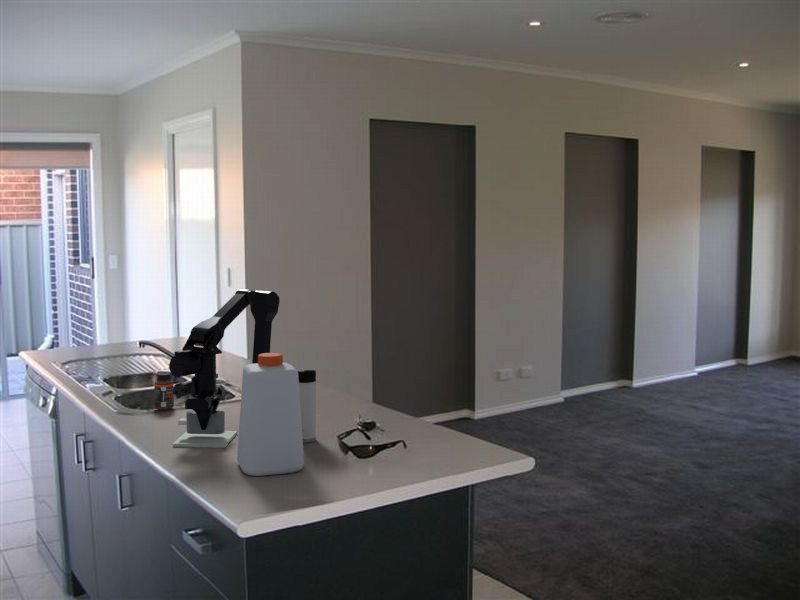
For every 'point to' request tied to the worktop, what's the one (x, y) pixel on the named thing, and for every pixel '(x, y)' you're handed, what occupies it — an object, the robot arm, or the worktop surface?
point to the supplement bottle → (163, 392)
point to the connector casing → (213, 427)
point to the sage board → (205, 440)
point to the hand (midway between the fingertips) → (205, 427)
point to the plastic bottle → (270, 418)
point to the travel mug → (308, 404)
